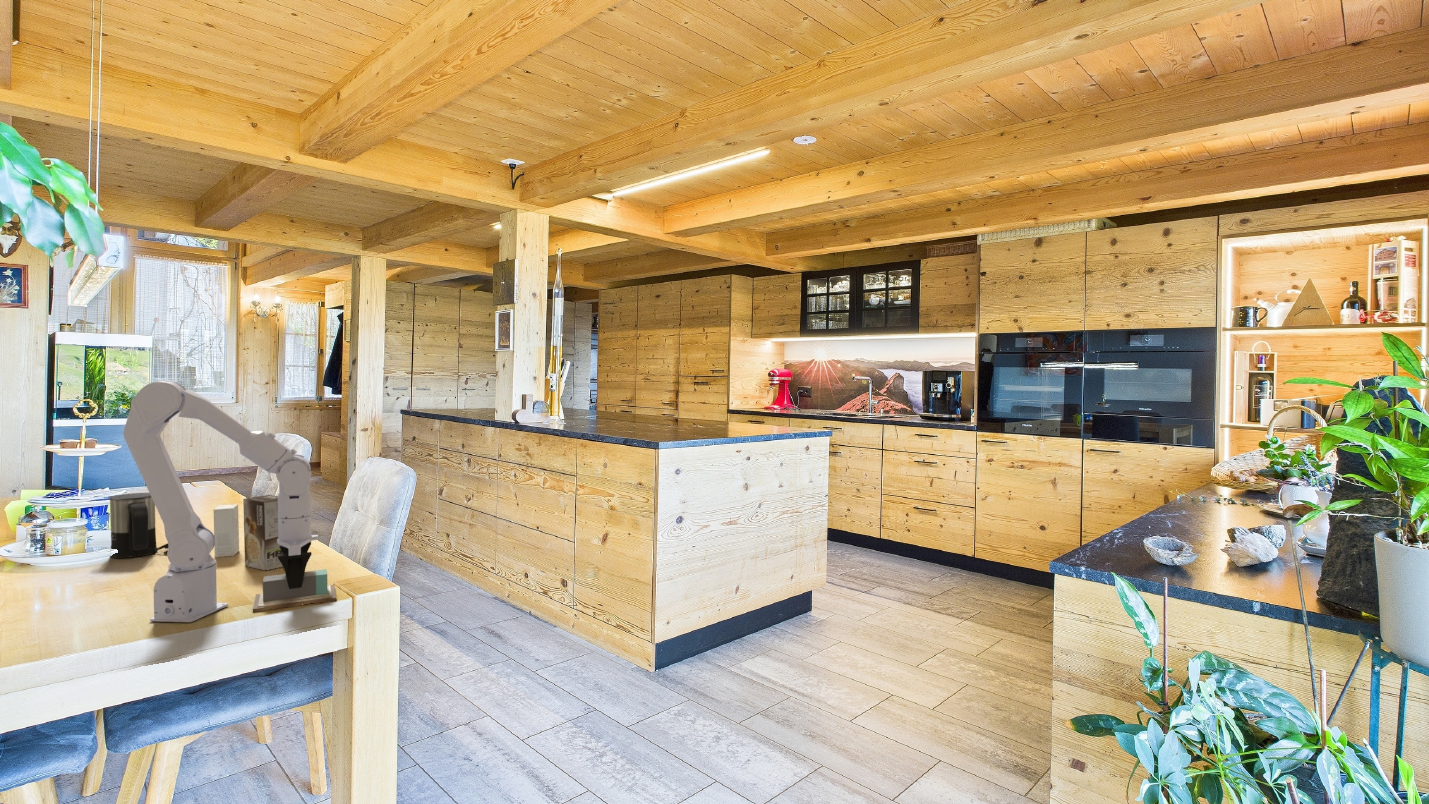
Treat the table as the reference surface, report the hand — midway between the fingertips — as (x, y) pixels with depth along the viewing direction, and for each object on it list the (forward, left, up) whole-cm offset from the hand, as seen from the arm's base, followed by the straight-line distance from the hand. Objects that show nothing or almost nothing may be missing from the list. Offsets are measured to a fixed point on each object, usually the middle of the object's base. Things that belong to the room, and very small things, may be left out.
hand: (295, 582), depth 140 cm
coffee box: (+23, +22, -3) cm, 32 cm away
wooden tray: (0, 0, -3) cm, 3 cm away
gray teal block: (0, 0, -2) cm, 2 cm away
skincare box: (+32, +39, -3) cm, 51 cm away
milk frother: (+32, +58, -4) cm, 66 cm away
